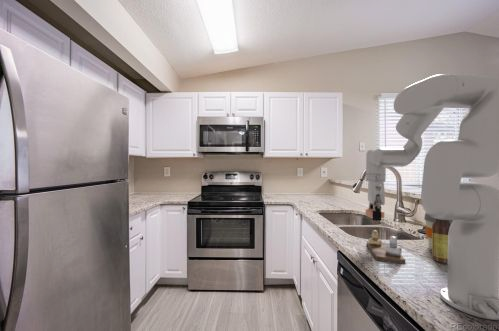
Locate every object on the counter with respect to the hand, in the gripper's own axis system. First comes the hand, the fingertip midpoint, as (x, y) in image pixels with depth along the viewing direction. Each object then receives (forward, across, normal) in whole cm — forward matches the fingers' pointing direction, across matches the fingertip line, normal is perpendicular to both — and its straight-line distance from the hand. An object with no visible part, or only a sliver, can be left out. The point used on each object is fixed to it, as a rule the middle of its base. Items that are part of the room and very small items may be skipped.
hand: (374, 218), depth 100 cm
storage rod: (+11, -12, -4) cm, 17 cm away
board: (+13, -6, -2) cm, 14 cm away
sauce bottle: (+13, -8, -22) cm, 26 cm away
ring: (-1, 0, 0) cm, 1 cm away
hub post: (+11, -1, 0) cm, 11 cm away
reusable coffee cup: (+13, +6, -28) cm, 31 cm away
